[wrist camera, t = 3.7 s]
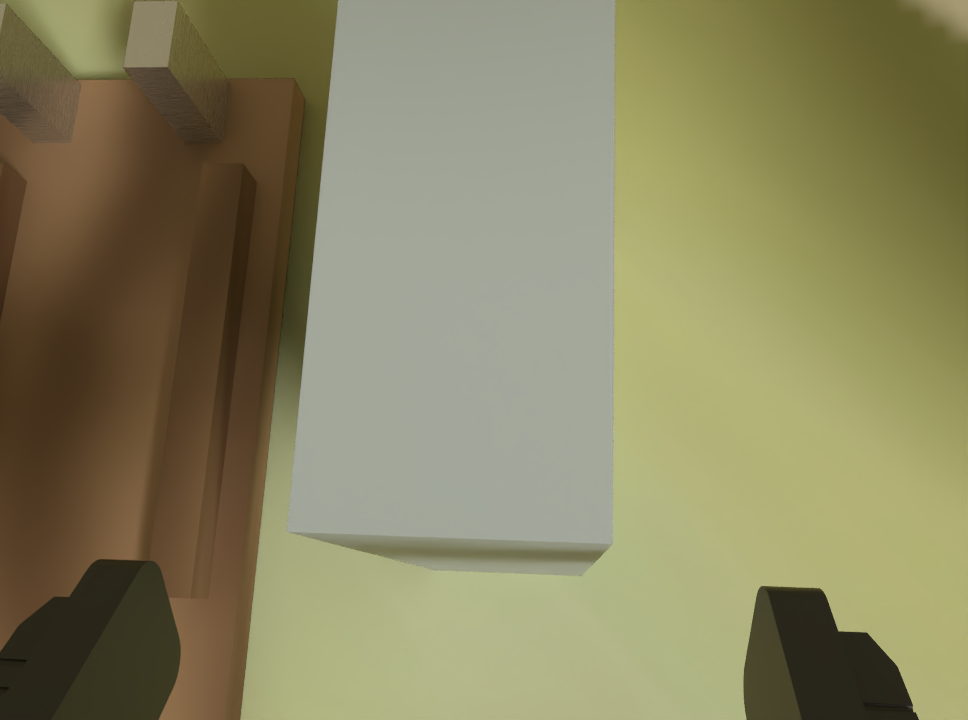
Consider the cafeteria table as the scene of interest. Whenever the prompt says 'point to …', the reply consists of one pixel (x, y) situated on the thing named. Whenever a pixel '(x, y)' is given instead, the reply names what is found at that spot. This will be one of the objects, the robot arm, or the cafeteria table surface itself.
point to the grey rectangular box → (463, 289)
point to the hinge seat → (142, 330)
